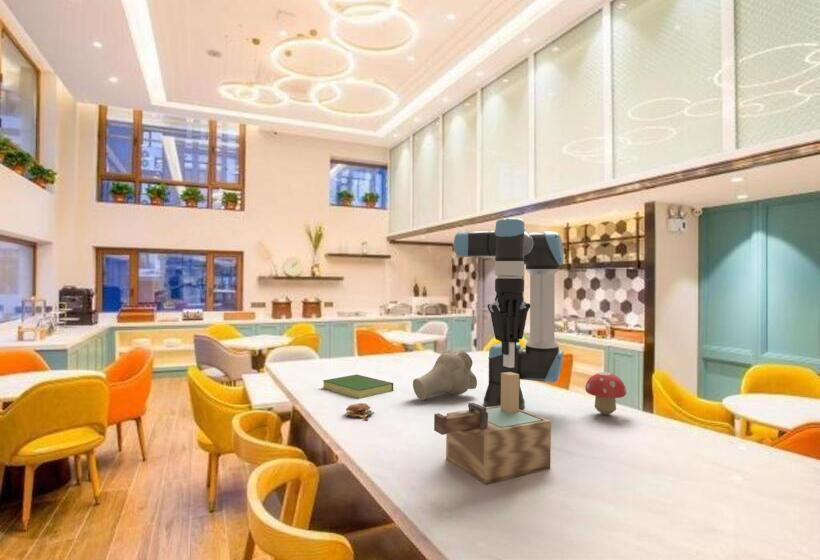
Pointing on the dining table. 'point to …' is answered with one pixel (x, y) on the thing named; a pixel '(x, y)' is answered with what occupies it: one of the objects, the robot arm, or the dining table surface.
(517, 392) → the lid
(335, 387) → the hardcover book
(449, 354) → the beige knobby lump
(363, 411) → the hamburger
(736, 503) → the dining table surface
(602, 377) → the decorative mushroom
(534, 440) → the toolbox
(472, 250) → the robot arm
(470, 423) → the block
